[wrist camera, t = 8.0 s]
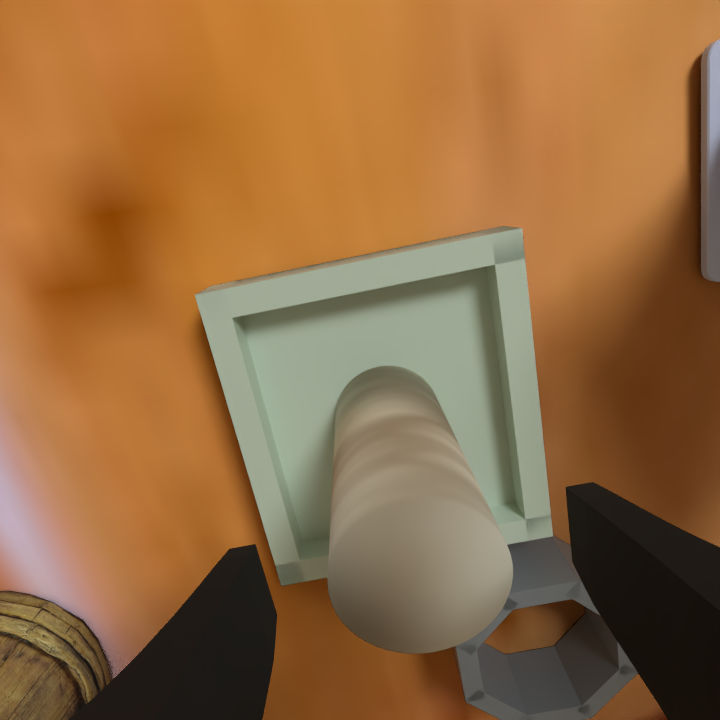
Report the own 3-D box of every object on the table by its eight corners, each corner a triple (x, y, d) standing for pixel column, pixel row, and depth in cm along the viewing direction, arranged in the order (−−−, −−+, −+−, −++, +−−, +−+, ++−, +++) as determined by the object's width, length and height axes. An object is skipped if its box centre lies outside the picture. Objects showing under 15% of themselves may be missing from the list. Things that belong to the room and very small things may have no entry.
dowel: (450, 376, 19) (537, 516, 10) (424, 468, 20) (483, 664, 11) (347, 356, 19) (348, 484, 10) (326, 451, 20) (311, 639, 11)
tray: (503, 226, 18) (521, 228, 16) (535, 507, 22) (553, 536, 20) (210, 286, 19) (194, 294, 17) (287, 553, 22) (281, 585, 20)
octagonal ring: (596, 523, 22) (634, 570, 19) (605, 650, 24) (640, 710, 21) (434, 553, 22) (447, 604, 19) (457, 676, 24) (472, 738, 21)
